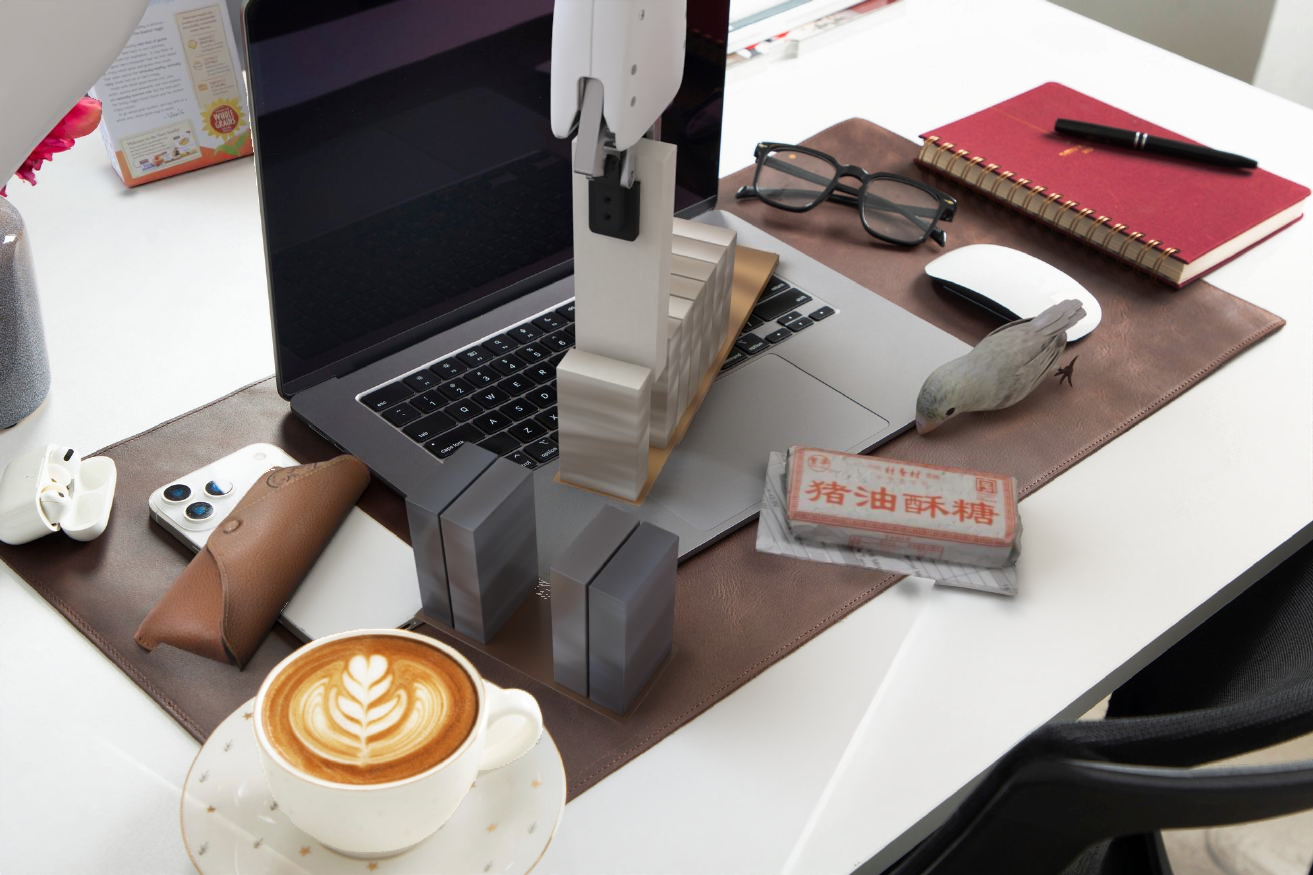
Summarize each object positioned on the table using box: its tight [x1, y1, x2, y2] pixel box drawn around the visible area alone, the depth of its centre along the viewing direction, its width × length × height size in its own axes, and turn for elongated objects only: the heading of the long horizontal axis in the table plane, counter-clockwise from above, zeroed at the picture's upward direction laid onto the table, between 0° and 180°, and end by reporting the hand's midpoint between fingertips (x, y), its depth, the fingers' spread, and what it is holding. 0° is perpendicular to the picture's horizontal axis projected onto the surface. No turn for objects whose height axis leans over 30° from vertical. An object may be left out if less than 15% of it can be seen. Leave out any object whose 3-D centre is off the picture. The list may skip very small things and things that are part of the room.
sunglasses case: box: [133, 453, 371, 673], centre depth 77 cm, size 18×7×7 cm, turn 165°
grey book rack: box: [404, 441, 682, 727], centre depth 70 cm, size 16×7×12 cm, turn 60°
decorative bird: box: [915, 298, 1088, 436], centre depth 91 cm, size 5×16×8 cm, turn 123°
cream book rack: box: [552, 216, 780, 508], centre depth 92 cm, size 36×7×12 cm, turn 159°
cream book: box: [571, 134, 678, 383], centre depth 75 cm, size 2×6×17 cm, turn 69°
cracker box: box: [87, 0, 254, 188], centre depth 112 cm, size 14×6×21 cm, turn 126°
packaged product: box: [755, 445, 1024, 597], centre depth 81 cm, size 18×5×10 cm
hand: (622, 221), depth 73 cm, fingers closed on cream book, 2 cm apart
